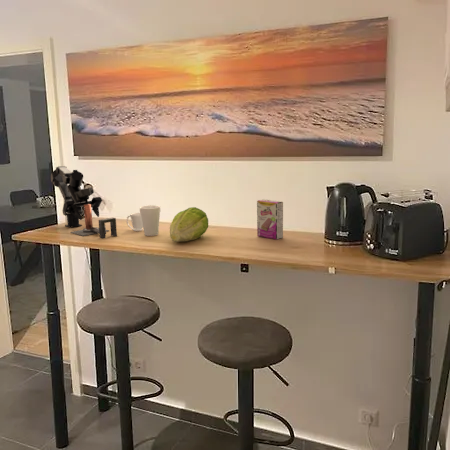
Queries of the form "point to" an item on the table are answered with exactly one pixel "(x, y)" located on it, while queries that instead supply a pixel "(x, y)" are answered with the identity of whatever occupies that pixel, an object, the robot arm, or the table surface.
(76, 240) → the table surface
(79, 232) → the mat
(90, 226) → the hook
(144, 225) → the foam cup
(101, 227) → the brown square arch
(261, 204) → the candy bar box
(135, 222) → the cup
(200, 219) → the lettuce
